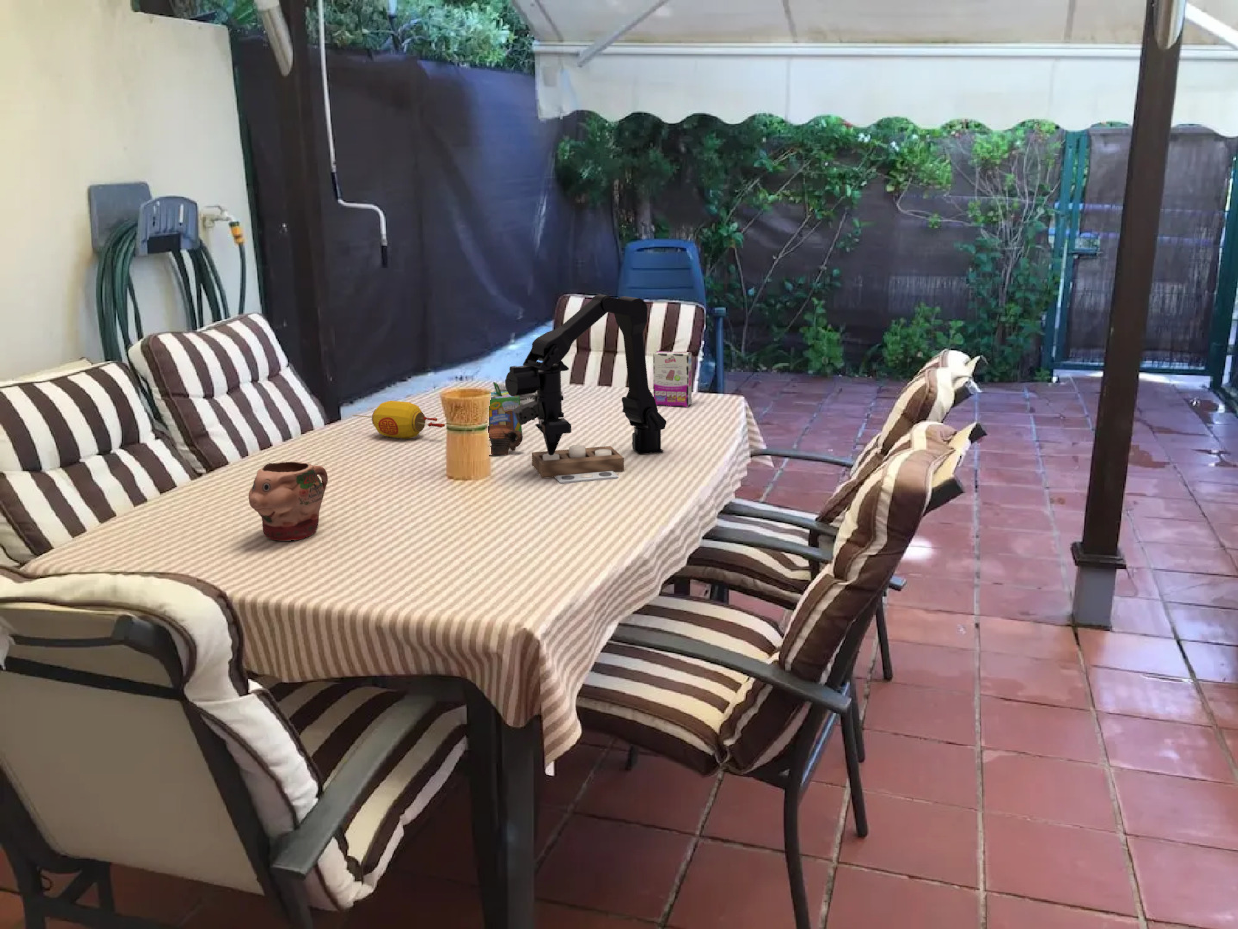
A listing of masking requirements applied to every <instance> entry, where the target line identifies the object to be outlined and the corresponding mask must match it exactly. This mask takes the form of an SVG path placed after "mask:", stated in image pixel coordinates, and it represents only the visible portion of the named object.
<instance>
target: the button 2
mask: <svg viewBox="0 0 1238 929" xmlns="http://www.w3.org/2000/svg"><path fill="white" fill-rule="evenodd" d="M607 455H611V450H608V449H599V450H596V451H595V456H607Z"/></svg>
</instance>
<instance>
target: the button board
mask: <svg viewBox="0 0 1238 929" xmlns="http://www.w3.org/2000/svg"><path fill="white" fill-rule="evenodd" d="M599 449H608V450H611V455H607V456H595V451H596V450H599ZM585 450H586V457H583V458H571V459H570V458H569V448H568V449H556V450H555V452H554V453H555V454H559V460H547V461H543V455H544V454H548V451H534V452H533V451H532V452H531V466H532V467H533V466H534V467H533V468H534V469H535V471H536V472H537V473H538V474H540V475H539V476H540V477H541V479H548V478H549V479H550V478H555V476H561V475H572V474H583V473H595V472H606V471H613V472H614V473H616V472H625V458H624V456H622V455H621V453H620V452H618V451H617V450H616V449H614V448H613V447H612V446H611V445H605V446H595V447H594V446H593V447H585Z"/></svg>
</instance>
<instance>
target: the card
mask: <svg viewBox="0 0 1238 929" xmlns="http://www.w3.org/2000/svg"><path fill="white" fill-rule="evenodd" d="M554 478H555V479H556V480H557V482H558V483H559V484H568V483H570V482H571V483H579V482H580V483H581V481H582V482H589V481H592V482H593V481H600V480H602V481H604V480H611V479H613V480H615V479H619V475H618V474H617V473H616V472H613V471H606V472H595V473H583V474H572V475H561V476H555V477H554Z"/></svg>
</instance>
